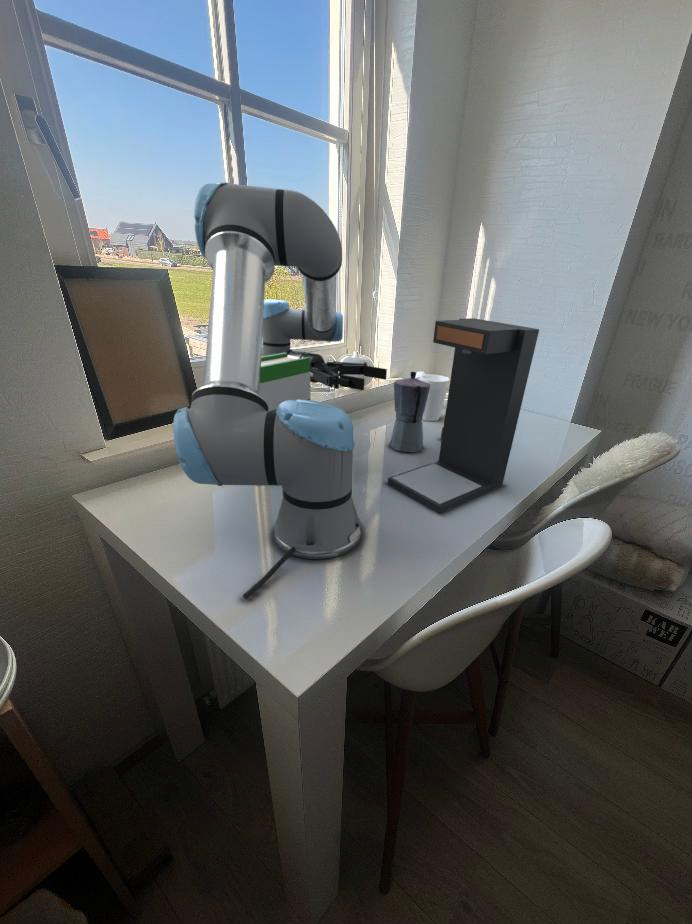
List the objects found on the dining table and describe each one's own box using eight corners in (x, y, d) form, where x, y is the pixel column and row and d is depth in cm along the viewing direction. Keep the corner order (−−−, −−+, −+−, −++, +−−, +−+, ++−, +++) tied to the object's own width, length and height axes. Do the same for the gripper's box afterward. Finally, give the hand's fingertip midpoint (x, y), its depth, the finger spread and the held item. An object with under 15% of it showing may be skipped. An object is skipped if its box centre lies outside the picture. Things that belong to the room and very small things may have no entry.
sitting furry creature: (431, 403, 154) (436, 369, 147) (431, 410, 146) (436, 375, 140) (406, 400, 154) (409, 367, 148) (404, 407, 147) (408, 372, 141)
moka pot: (416, 437, 122) (424, 366, 112) (432, 459, 109) (443, 380, 99) (384, 438, 120) (389, 365, 109) (397, 460, 107) (404, 380, 97)
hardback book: (289, 451, 107) (284, 352, 95) (311, 458, 104) (309, 357, 92) (235, 474, 94) (221, 363, 82) (258, 483, 91) (248, 369, 79)
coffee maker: (439, 513, 85) (468, 334, 68) (387, 483, 95) (400, 320, 78) (502, 485, 98) (539, 329, 81) (450, 462, 108) (473, 318, 91)
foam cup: (411, 413, 141) (415, 374, 134) (436, 413, 144) (441, 374, 137) (422, 423, 133) (426, 381, 127) (448, 422, 136) (454, 381, 129)
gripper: (329, 372, 128) (393, 384, 121) (279, 389, 108) (352, 404, 101) (329, 346, 124) (395, 357, 117) (278, 359, 104) (353, 373, 97)
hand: (375, 379), depth 109 cm, fingers open, 13 cm apart
